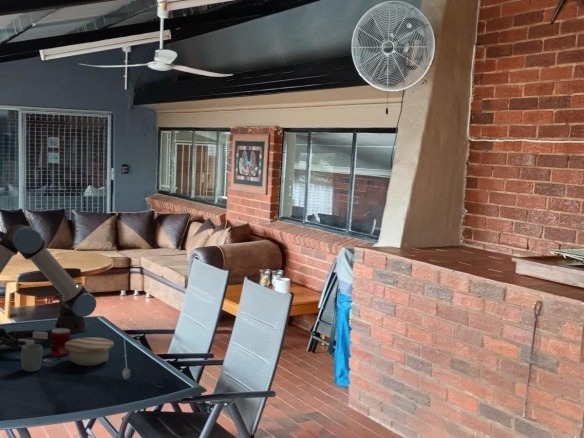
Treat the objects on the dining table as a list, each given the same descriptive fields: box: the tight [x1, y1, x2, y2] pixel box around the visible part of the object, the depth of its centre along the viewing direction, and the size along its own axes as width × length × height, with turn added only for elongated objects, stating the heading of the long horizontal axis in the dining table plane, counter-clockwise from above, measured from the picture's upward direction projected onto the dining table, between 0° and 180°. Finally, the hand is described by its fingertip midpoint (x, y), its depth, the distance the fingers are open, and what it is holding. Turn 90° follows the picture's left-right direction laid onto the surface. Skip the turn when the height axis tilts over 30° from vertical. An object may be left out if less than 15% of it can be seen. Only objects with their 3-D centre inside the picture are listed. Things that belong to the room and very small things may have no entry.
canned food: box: [50, 328, 71, 358], centre depth 293 cm, size 8×8×11 cm
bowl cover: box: [65, 336, 114, 353], centre depth 284 cm, size 20×20×1 cm
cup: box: [20, 343, 43, 373], centre depth 270 cm, size 8×8×10 cm
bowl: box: [69, 349, 110, 367], centre depth 285 cm, size 16×16×7 cm
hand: (40, 339), depth 294 cm, fingers open, 13 cm apart
